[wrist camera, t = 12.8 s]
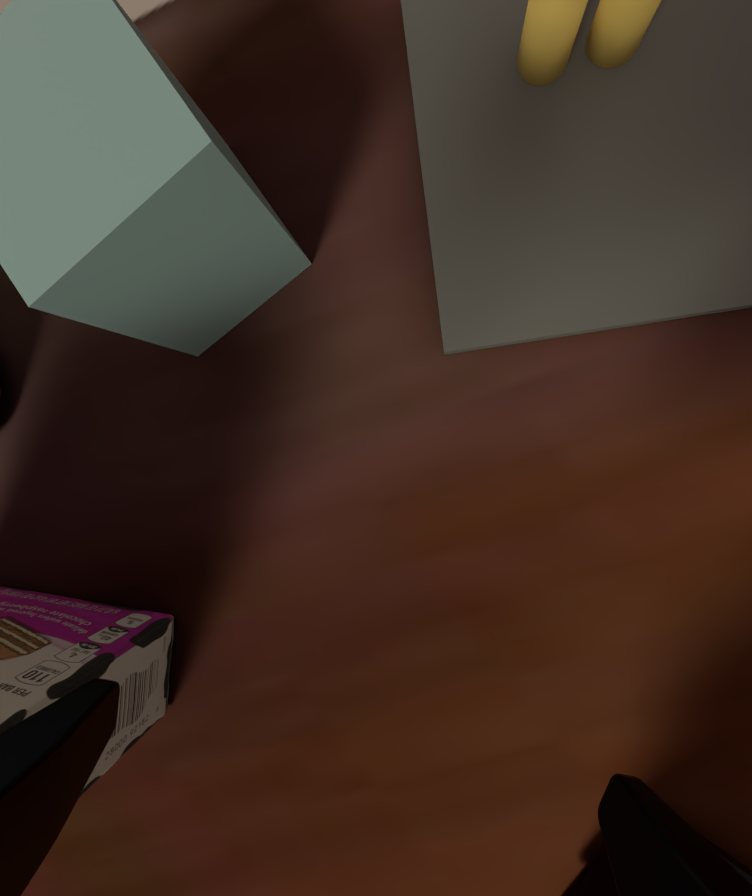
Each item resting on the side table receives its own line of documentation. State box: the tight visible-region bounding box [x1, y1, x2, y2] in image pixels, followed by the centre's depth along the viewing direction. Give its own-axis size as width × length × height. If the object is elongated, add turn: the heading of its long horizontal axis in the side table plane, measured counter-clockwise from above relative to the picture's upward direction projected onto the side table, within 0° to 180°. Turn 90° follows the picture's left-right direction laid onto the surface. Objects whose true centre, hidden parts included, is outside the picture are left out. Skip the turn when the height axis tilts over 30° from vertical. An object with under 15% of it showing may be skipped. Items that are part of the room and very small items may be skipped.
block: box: [0, 0, 311, 356], centre depth 15 cm, size 6×6×8 cm
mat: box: [401, 0, 752, 355], centre depth 15 cm, size 14×12×3 cm
